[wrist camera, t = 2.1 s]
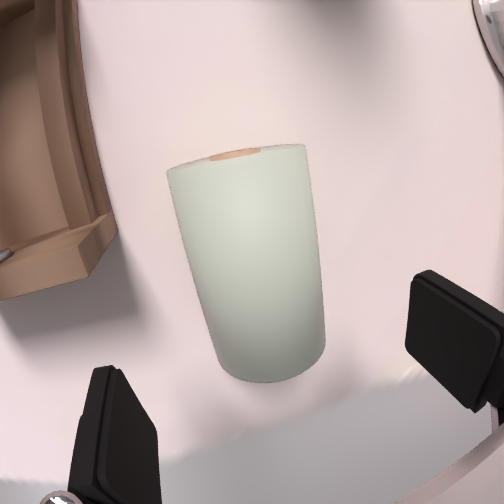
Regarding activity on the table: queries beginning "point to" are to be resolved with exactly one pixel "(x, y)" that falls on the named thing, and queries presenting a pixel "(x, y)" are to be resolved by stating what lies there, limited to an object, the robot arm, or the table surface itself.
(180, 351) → the table surface
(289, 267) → the paper roll
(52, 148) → the walnut cradle
